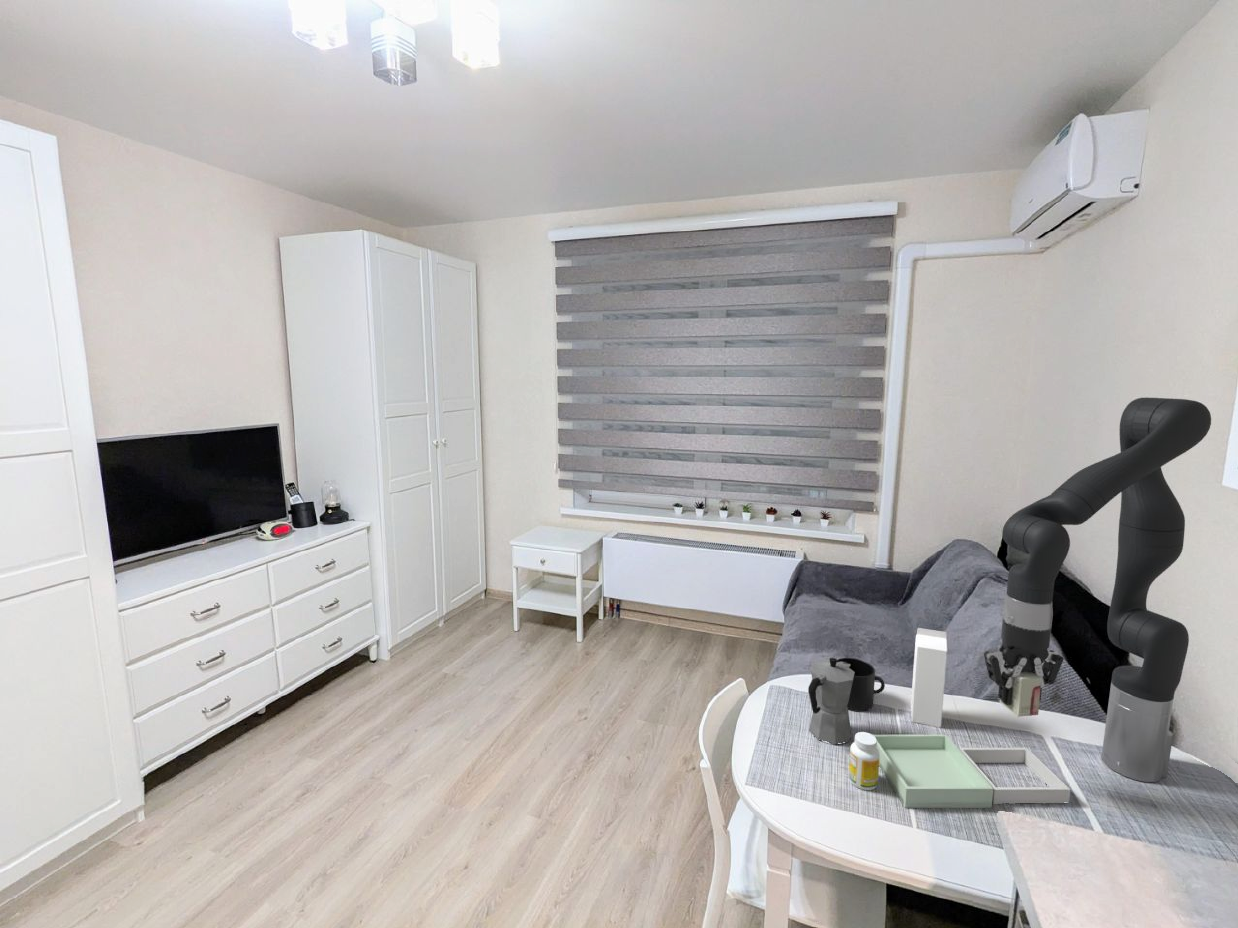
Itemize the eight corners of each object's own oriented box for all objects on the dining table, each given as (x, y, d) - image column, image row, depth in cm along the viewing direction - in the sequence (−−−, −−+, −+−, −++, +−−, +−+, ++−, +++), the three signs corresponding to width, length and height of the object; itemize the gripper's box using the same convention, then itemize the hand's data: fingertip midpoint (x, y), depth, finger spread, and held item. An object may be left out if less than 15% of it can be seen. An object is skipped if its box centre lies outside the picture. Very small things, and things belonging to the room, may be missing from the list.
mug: (889, 714, 136) (891, 679, 134) (836, 709, 138) (837, 675, 136) (878, 692, 145) (880, 659, 143) (829, 688, 147) (830, 656, 145)
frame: (1024, 760, 119) (1026, 747, 119) (1068, 803, 107) (1070, 789, 107) (957, 760, 119) (958, 747, 119) (993, 803, 107) (994, 789, 107)
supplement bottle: (844, 782, 114) (846, 738, 112) (854, 768, 118) (857, 725, 116) (872, 795, 110) (874, 750, 109) (881, 780, 114) (884, 737, 112)
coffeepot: (826, 711, 137) (830, 641, 134) (864, 730, 130) (868, 656, 127) (789, 738, 127) (791, 663, 125) (827, 759, 120) (831, 680, 117)
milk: (910, 708, 138) (916, 622, 135) (938, 714, 135) (945, 626, 132) (911, 722, 132) (917, 633, 129) (941, 728, 130) (948, 637, 127)
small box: (1039, 715, 108) (1043, 677, 107) (1017, 717, 108) (1021, 678, 107) (1018, 700, 113) (1022, 663, 112) (998, 702, 113) (1001, 665, 112)
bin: (944, 751, 122) (946, 734, 122) (991, 807, 106) (993, 788, 106) (869, 751, 123) (870, 734, 122) (904, 807, 107) (906, 788, 106)
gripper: (1050, 611, 111) (1042, 691, 114) (976, 612, 112) (970, 692, 114) (1080, 628, 104) (1070, 713, 107) (1001, 629, 104) (993, 714, 107)
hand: (1018, 702), depth 111 cm, fingers closed on small box, 4 cm apart
